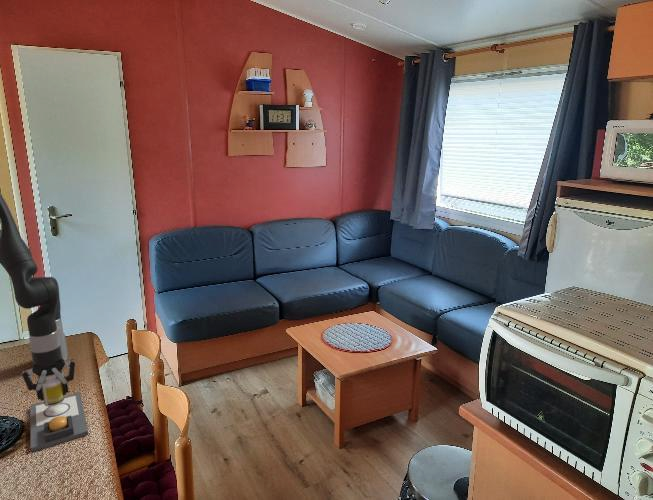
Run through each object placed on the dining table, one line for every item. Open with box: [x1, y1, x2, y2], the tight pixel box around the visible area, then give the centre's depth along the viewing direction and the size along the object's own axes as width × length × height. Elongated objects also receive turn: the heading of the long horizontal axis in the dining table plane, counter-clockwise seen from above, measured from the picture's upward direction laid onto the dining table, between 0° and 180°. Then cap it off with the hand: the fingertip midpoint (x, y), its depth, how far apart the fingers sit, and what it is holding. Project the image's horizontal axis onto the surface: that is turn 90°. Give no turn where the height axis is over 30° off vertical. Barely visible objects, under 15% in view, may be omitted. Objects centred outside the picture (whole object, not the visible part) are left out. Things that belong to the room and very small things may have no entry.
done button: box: [49, 416, 67, 432], centre depth 132 cm, size 4×4×2 cm
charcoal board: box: [29, 391, 89, 453], centre depth 139 cm, size 24×14×3 cm, turn 32°
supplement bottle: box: [41, 374, 65, 407], centre depth 140 cm, size 5×5×10 cm
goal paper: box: [36, 396, 79, 427], centre depth 142 cm, size 12×11×1 cm
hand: (53, 396), depth 141 cm, fingers closed on supplement bottle, 5 cm apart
